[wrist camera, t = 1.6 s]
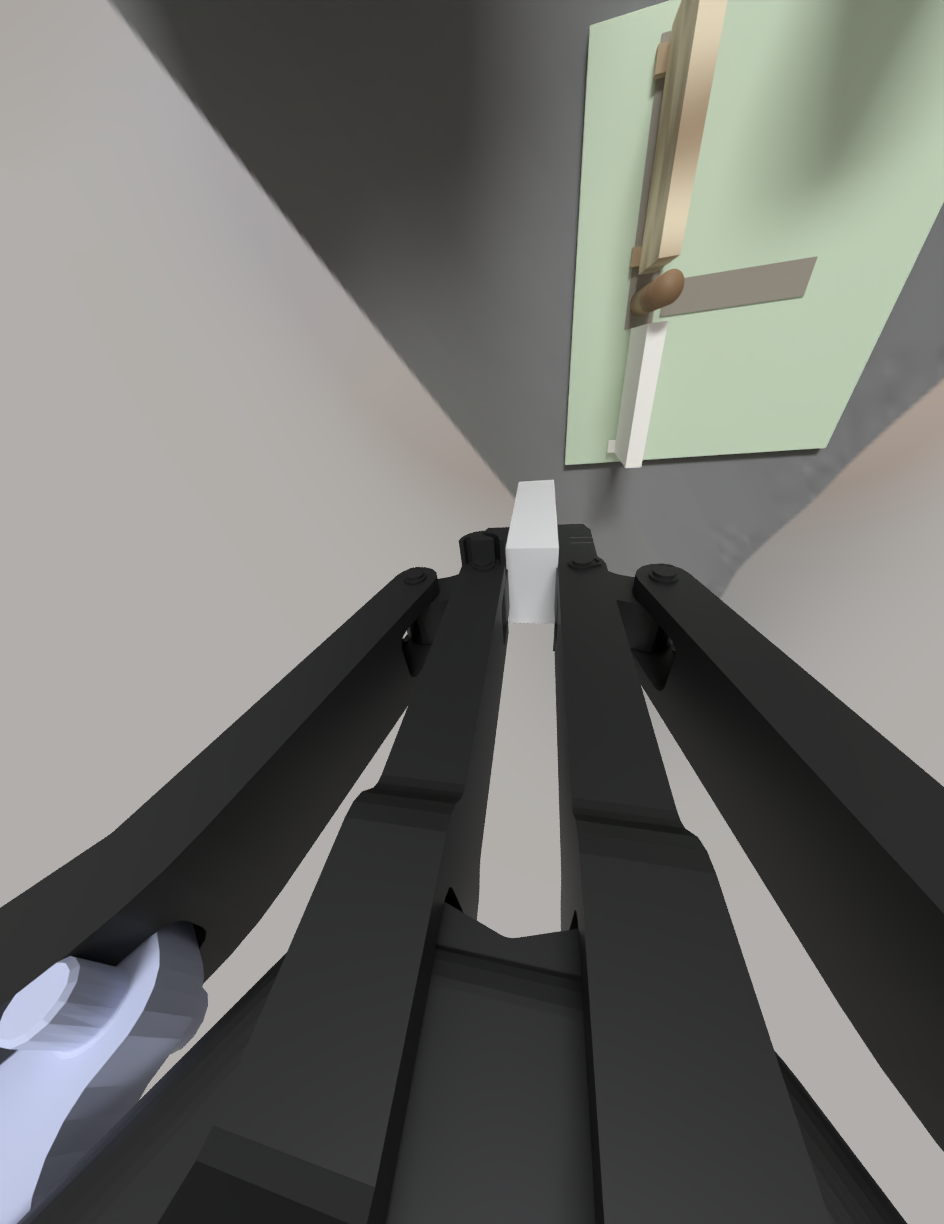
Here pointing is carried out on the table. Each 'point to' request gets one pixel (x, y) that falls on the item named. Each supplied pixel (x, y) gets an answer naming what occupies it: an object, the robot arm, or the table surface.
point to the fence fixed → (677, 145)
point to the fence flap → (638, 392)
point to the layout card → (757, 219)
